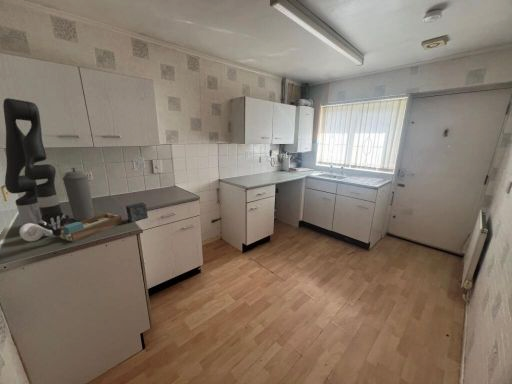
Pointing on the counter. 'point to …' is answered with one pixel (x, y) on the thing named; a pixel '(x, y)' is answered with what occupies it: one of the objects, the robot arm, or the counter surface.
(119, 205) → the counter surface
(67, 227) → the block
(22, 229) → the white knot sculpture
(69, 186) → the canister
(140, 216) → the small box
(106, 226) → the track
